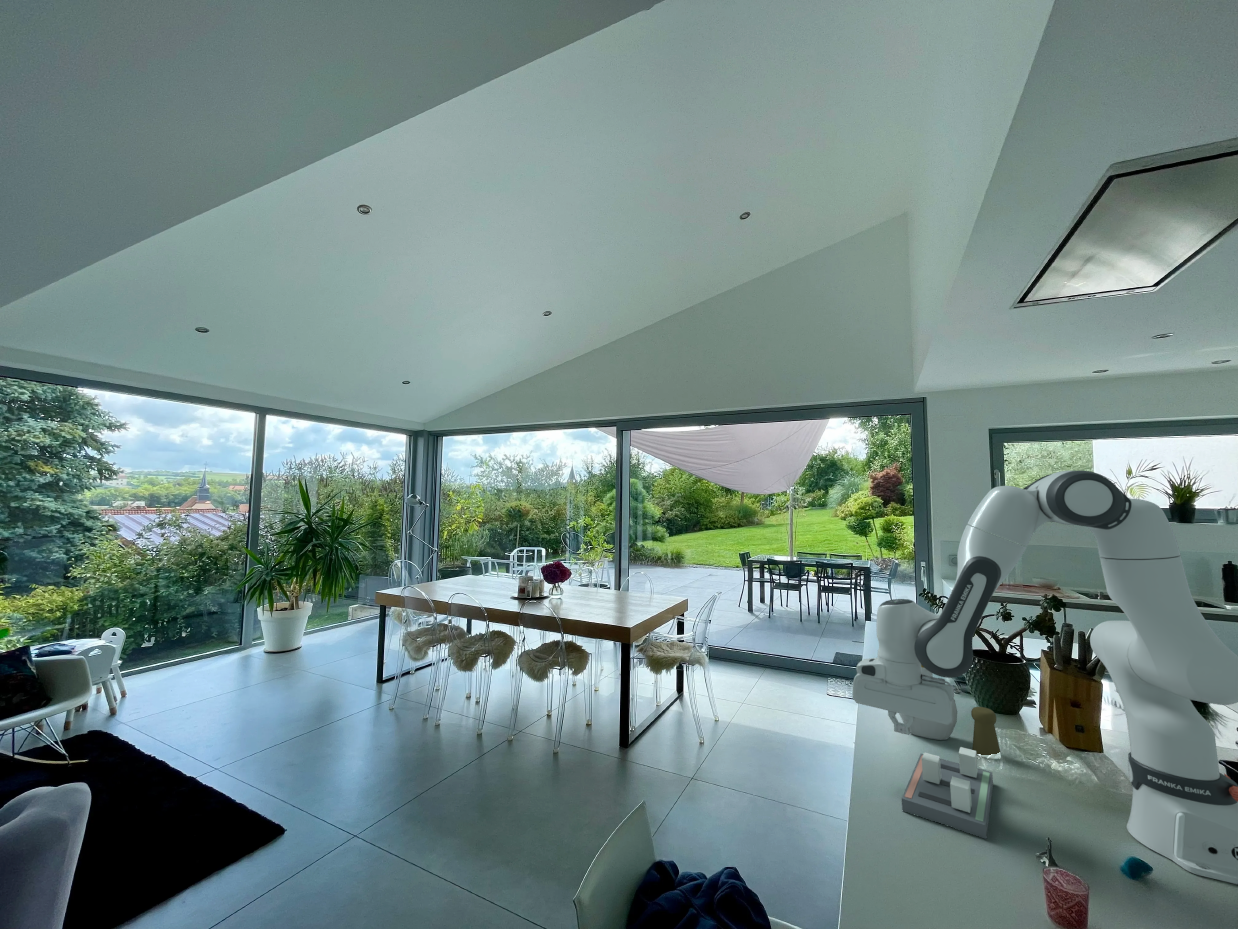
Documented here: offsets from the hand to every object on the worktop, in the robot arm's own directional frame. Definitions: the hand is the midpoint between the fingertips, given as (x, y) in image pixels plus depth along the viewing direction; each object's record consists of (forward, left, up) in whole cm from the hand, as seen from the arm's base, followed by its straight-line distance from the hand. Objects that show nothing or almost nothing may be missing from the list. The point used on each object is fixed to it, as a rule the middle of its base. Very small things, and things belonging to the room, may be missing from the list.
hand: (902, 732), depth 113 cm
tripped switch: (-5, 0, -8) cm, 10 cm away
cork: (-13, -28, -11) cm, 33 cm away
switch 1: (-11, -8, -8) cm, 16 cm away
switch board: (-8, 0, -11) cm, 14 cm away
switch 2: (-11, +8, -8) cm, 16 cm away
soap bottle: (0, -30, -11) cm, 32 cm away
